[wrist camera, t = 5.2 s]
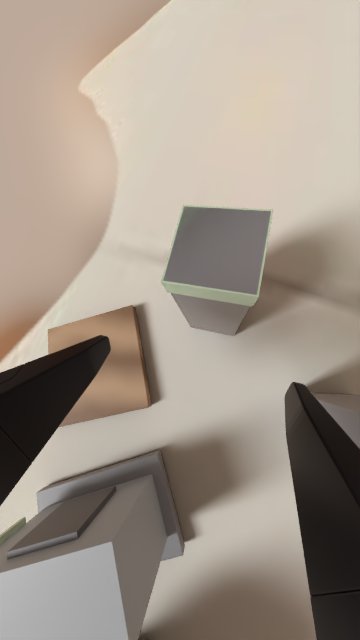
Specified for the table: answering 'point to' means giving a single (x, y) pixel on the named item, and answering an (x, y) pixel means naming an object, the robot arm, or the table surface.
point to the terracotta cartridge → (343, 412)
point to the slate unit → (89, 555)
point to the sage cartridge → (217, 264)
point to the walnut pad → (108, 365)
